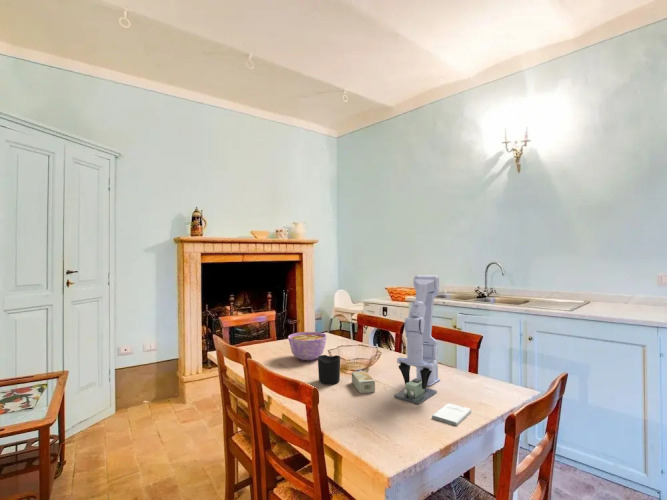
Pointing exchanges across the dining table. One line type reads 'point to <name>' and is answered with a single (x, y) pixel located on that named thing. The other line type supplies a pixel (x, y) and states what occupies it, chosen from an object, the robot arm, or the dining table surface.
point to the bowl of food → (307, 344)
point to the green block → (415, 387)
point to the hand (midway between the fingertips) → (415, 385)
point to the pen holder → (329, 369)
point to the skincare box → (363, 382)
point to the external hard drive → (451, 414)
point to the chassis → (416, 400)
